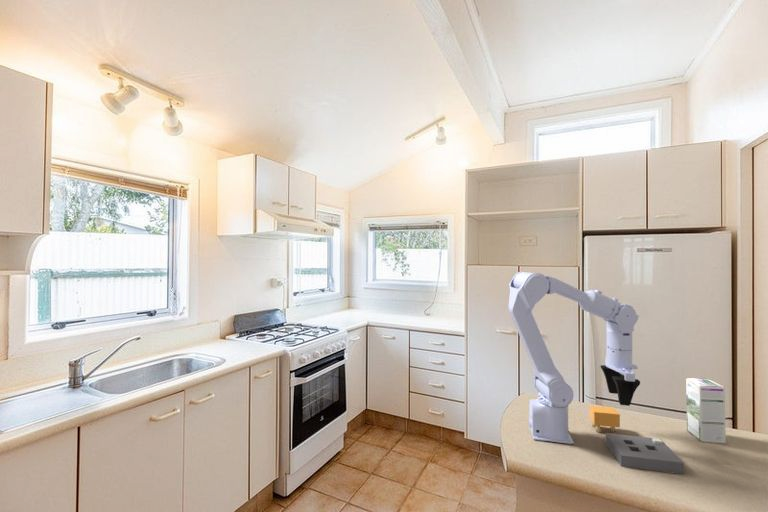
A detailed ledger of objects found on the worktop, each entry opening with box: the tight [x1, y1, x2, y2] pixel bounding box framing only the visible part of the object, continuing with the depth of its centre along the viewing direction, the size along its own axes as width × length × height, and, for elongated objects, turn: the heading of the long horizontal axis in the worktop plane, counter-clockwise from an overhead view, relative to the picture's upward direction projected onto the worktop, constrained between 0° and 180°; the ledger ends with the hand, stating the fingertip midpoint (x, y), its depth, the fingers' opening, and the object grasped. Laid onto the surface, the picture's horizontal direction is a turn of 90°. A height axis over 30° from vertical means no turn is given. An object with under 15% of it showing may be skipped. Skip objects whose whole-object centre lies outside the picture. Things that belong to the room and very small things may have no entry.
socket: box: [604, 432, 685, 475], centre depth 82 cm, size 12×10×3 cm
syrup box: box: [685, 377, 727, 444], centre depth 91 cm, size 6×6×14 cm
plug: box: [589, 405, 621, 434], centre depth 95 cm, size 6×4×6 cm, turn 75°
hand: (618, 398), depth 93 cm, fingers open, 7 cm apart
